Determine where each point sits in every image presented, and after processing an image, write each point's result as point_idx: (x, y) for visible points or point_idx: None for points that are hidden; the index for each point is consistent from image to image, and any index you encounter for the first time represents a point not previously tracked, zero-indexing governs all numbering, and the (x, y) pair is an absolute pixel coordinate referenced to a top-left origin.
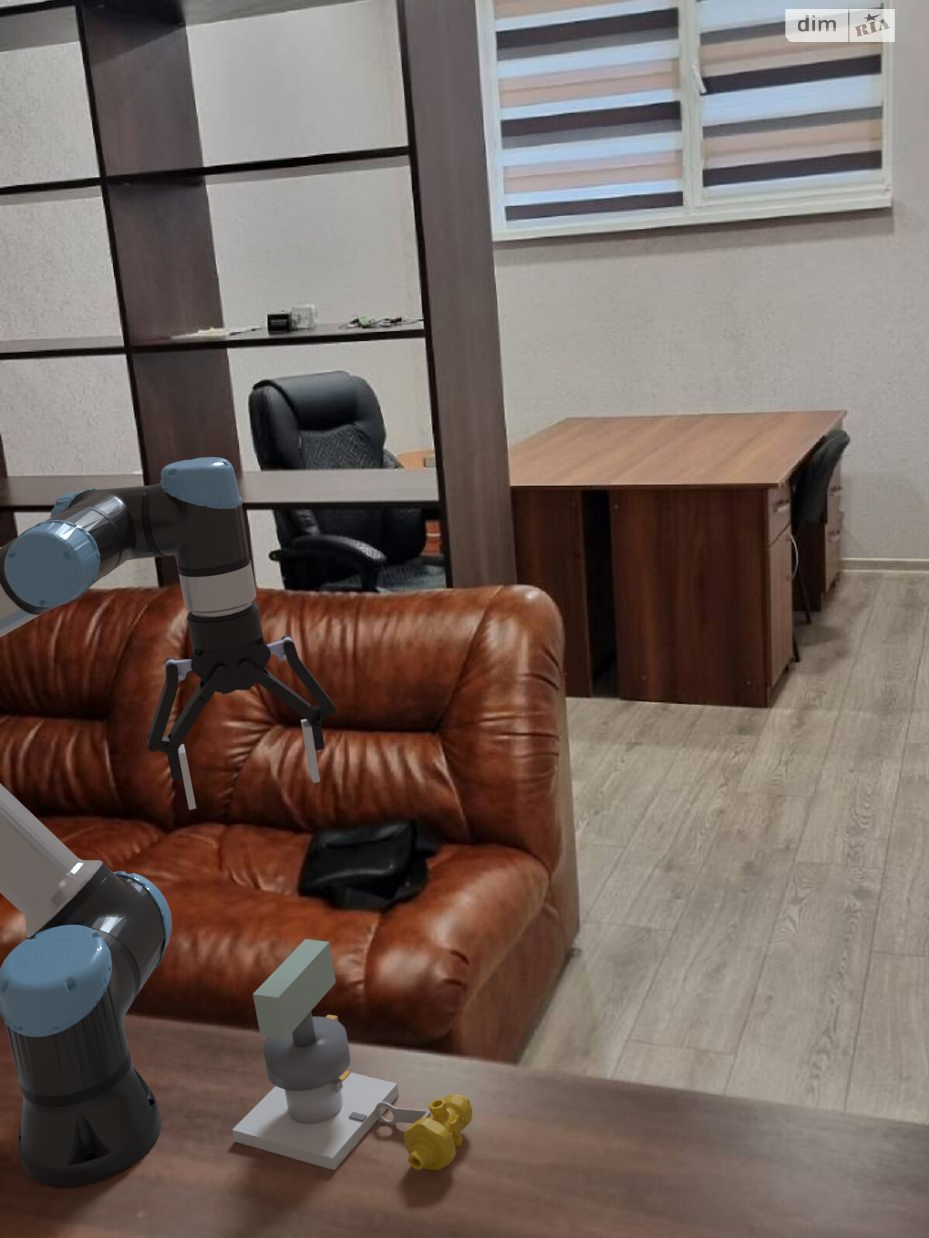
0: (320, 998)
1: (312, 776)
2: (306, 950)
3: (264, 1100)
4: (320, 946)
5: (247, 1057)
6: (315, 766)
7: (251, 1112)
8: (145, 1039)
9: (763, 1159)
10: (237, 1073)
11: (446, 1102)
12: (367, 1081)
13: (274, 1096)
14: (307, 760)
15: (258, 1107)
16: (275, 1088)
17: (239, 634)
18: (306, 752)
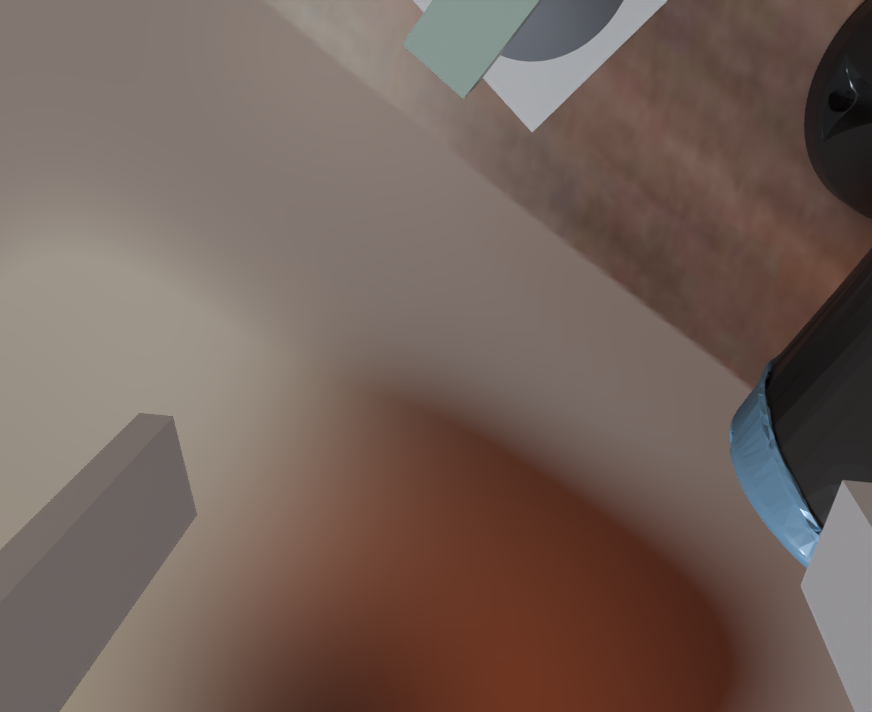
0: None
1: (153, 439)
2: (472, 26)
3: (625, 33)
4: (430, 28)
5: (611, 215)
6: (95, 471)
7: (658, 3)
8: (753, 346)
9: None
10: (639, 177)
11: None
12: None
13: (604, 37)
14: (153, 566)
15: (641, 14)
16: (596, 64)
17: None
18: (117, 599)
